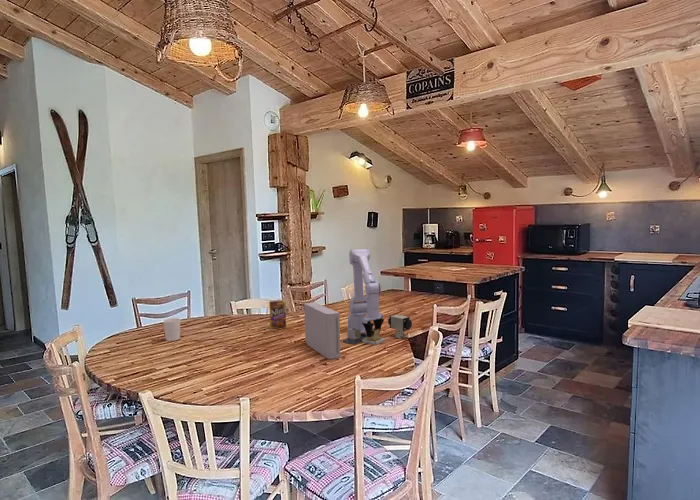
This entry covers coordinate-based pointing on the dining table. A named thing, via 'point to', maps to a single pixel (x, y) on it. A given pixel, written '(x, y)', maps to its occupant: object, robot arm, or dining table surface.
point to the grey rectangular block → (354, 334)
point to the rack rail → (363, 336)
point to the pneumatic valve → (399, 324)
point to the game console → (322, 330)
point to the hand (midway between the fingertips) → (373, 335)
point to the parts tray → (373, 341)
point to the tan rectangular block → (374, 335)
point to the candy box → (277, 314)
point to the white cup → (172, 329)
